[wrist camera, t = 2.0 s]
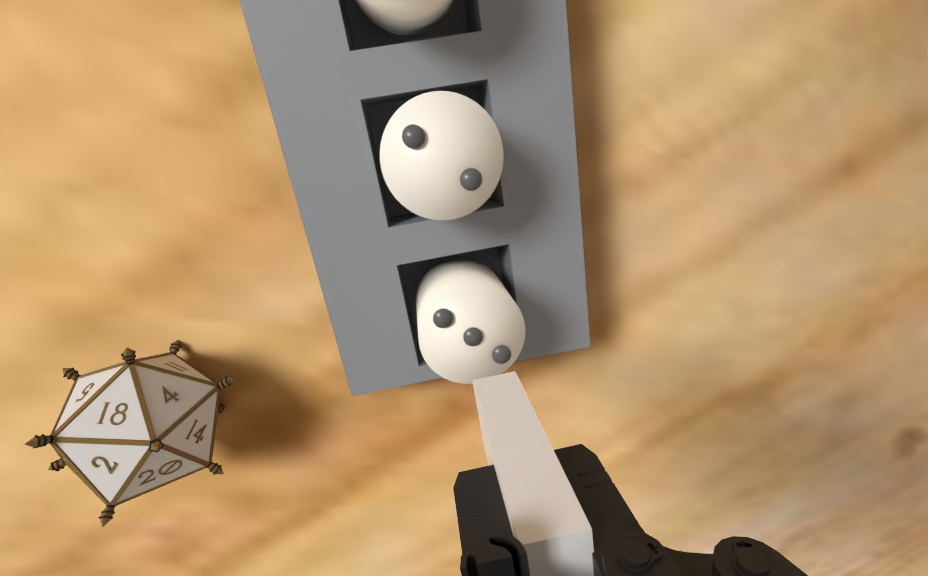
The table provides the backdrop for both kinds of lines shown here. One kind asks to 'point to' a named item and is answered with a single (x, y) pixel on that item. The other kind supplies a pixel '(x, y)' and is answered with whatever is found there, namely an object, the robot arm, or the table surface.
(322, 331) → the table surface
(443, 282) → the button
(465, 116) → the button
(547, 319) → the button board
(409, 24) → the button
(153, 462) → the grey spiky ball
